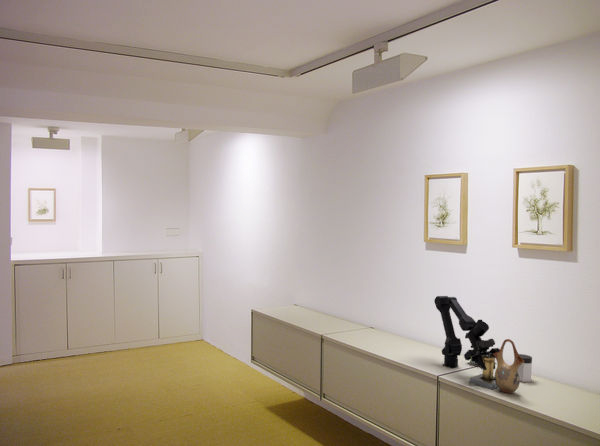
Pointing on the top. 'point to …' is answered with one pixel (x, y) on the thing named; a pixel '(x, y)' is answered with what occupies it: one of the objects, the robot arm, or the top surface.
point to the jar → (525, 368)
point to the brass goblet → (488, 368)
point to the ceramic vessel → (507, 370)
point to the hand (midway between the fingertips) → (490, 369)
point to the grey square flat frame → (483, 382)
